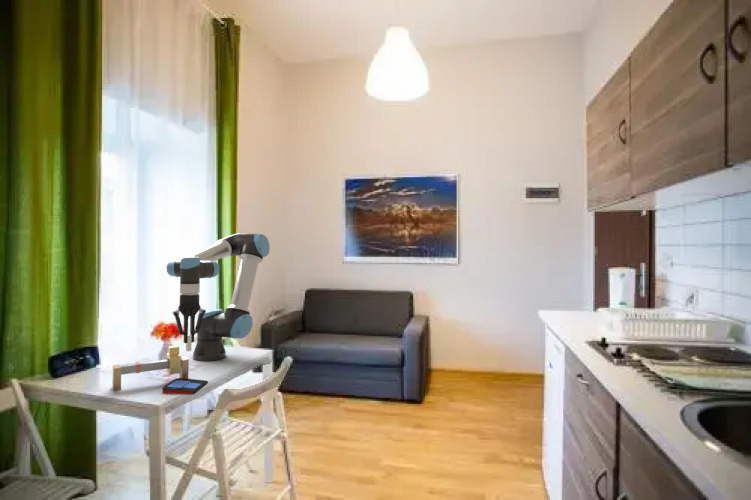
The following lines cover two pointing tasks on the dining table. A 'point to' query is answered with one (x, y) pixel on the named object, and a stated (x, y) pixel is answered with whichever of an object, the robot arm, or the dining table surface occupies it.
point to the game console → (184, 386)
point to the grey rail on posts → (145, 369)
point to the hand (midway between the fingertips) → (188, 350)
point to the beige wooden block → (174, 360)
